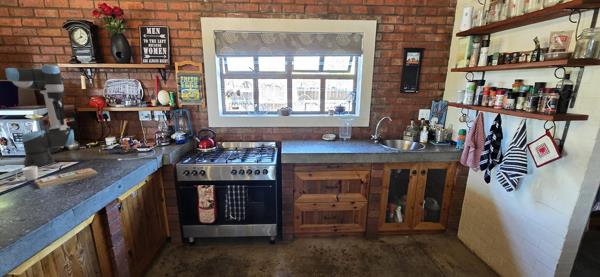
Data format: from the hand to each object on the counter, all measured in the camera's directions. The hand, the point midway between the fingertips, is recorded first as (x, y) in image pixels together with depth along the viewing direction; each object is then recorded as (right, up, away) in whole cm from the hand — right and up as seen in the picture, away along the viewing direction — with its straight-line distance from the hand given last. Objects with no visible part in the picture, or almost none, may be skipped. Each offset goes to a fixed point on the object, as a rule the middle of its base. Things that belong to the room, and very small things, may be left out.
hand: (63, 129), depth 157 cm
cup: (-13, -31, -8) cm, 34 cm away
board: (+8, -30, -5) cm, 32 cm away
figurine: (+4, -17, +54) cm, 56 cm away
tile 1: (+3, -31, -12) cm, 33 cm away
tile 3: (+12, -28, +1) cm, 31 cm away
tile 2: (+8, -30, -5) cm, 31 cm away
